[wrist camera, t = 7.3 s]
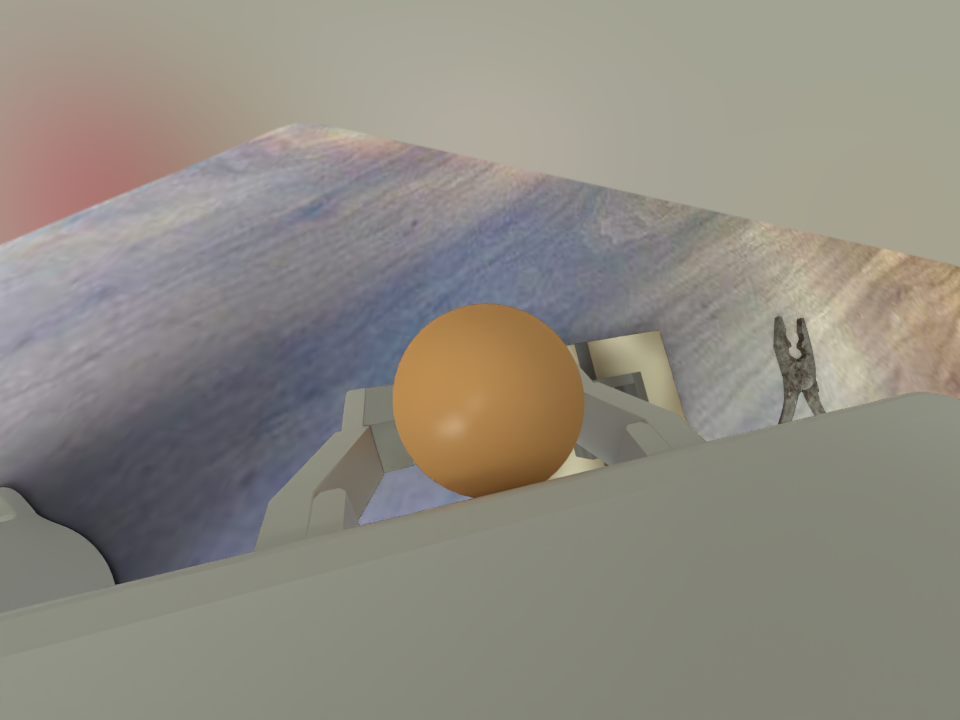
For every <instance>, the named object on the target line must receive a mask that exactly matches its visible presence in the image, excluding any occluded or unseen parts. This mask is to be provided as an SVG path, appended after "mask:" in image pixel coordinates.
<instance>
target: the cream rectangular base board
mask: <svg viewBox="0 0 960 720" xmlns="http://www.w3.org/2000/svg"><path fill="white" fill-rule="evenodd" d="M567 348H568V349H569V351H570V353H571V354H572V356H573V358H574V360H575V362H576V363H577V364H578V366H579V367H580V368H581V369H582V370H583V371H584V372H585V374H586V375H587V376H588V377H589V378H590V379H591V380H592V382H593V383H595V382H599V383H602V384H604V385H607V386H609V387H612V388H614V389H617V390H619V391H622V392H624V393H627V394H629V395H632V396H634V397H637V398H639V399H642V400H644V401H647V402H649V403H652V404H654V405H657V406H659V407H662V408H664V409H666V410H669V411H671V412H674V413H676V414H677V415H678V416H679V417H680V418H681V419H682V420H684V421H685V422H686V420H685V416H684V413H683V409H682V406H681V403H680V399H679V396H678V393H677V389H676V386H675V382H674V379H673V376H672V372H671V369H670V365H669V362H668V359H667V355H666V352H665V349H664V345H663V342H662V338H661V335H660V332H659V330H657V331H651V332H645V333H639V334H633V335H627V336H621V337H615V338H609V339H603V340H597V341H591V342H584V343H578V344H573V345H567ZM605 466H609V465H608V464H606V463H605V462H603V461H602V460H600V459H599V458H597V457H596V456H594V455H593V454H591V453H590V452H589V451H587V450H586V449H584V448H583V447H581V446H580V445H578V444H577V443H576V444H575V446H574V448H573V450H572V452H571V454H570V455H569V457H568V458H567V460H566V461H565V463H564V464H563V465H562V466H561V467H560V468H559V470H558V471H557V472H556V473H555V474H553V475H552V476H551V477H550V478H549V479H548V480H551V479H555V478H559V477H564V476H568V475H572V474H576V473H580V472H584V471H589V470H593V469H597V468H601V467H605ZM546 481H547V480H546Z"/></svg>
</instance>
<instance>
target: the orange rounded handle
mask: <svg viewBox="0 0 960 720" xmlns="http://www.w3.org/2000/svg"><path fill="white" fill-rule="evenodd" d="M584 404H585V403H584V390H583V384H582V379H581V376H580V373H579V369H578V367H577V364H576V362H575V360H574V358H573V356H572V354H571V353H570V351H569V349H568V348H567V346H566V345H565V343H564V342H563V341H562V340H561V338H560V337H559V336H558V335H557V334H556V333H555V332H554V331H553V330H552V329H551V328H550V327H549V326H547V325H546V324H545V323H544V322H542V321H541V320H539V319H538V318H536V317H534V316H533V315H531V314H529V313H526V312H524V311H522V310H519V309H516V308H513V307H510V306H505V305H499V304H474V305H469V306H464V307H460V308H457V309H454V310H451V311H449V312H447V313H445V314H443V315H441V316H439V317H438V318H436V319H435V320H433V321H432V322H430V323H429V324H428V325H427V326H426V327H425V328H423V329H422V330H421V331H420V332H419V333H418V334H417V336H416V337H415V338H414V339H413V340H412V342H411V343H410V345H409V346H408V348H407V349H406V351H405V353H404V355H403V357H402V359H401V361H400V363H399V366H398V369H397V372H396V375H395V381H394V386H393V413H394V418H395V423H396V428H397V430H398V433H399V436H400V438H401V441H402V443H403V445H404V447H405V448H406V450H407V452H408V454H409V455H410V456H411V458H412V459H413V461H414V462H415V463H416V465H417V466H418V467H419V468H420V469H421V470H422V471H423V472H424V473H425V474H426V475H428V476H429V477H430V478H431V479H433V480H434V481H435V482H436V483H438V484H440V485H442V486H443V487H445V488H447V489H449V490H451V491H453V492H456V493H458V494H461V495H465V496H469V497H473V498H477V497H481V496H485V495H489V494H493V493H498V492H502V491H506V490H510V489H514V488H518V487H522V486H526V485H531V484H535V483H539V482H543V481H546V480H548V479H549V478H550V477H551V476H552V475H553V474H555V473H556V472H557V471H558V470H559V468H560V467H561V466H562V465H563V464H564V463H565V461H566V460H567V458H568V457H569V455H570V454H571V452H572V450H573V448H574V446H575V444H576V442H577V440H578V437H579V434H580V431H581V428H582V422H583V417H584Z"/></svg>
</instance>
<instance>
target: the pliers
mask: <svg viewBox="0 0 960 720" xmlns="http://www.w3.org/2000/svg"><path fill="white" fill-rule="evenodd" d="M797 334H798V336H799V341H798V343H797V348H798V349H799V350H800V351H801V354H802V356H801V358H800V359H797V361H796V358H793V357H791V356H790V354H789V348H790V347H791V343H790V342H789V341H788V339H787V338H786V328H785V325H784V322H783V320H782V317H781V316H780V317H777V318H775V323H774V350H775V353H776V357H777V360H778V363H779V366H780V370H781V373H782V376H783V383H784V404H783V409H782V413H781V417H780V420H779V423H778V425H779V424H783V423H787V422H791V421H792V418H793V415H794V412H795V408H796V403H797V399H798V395H799V393H800V392H801V391H802V392H803V394H804V397H805V399H806V401H807V403H808V405H809V407H810V408H811V410H812V412H813V414H814V415H815V416H816V415H820V414H824V413H826V412H825V411H824V409H823V407H822V405H821V403H820V400H819V396H818V392H819V389H818V385H817V381H816V368H815V362H814V357H813V351H812V347H811V343H810V339H809V335H808V332H807V328H806V324H805V321H804V318H800V319H797Z"/></svg>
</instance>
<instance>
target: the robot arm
mask: <svg viewBox="0 0 960 720" xmlns="http://www.w3.org/2000/svg"><path fill="white" fill-rule="evenodd" d="M576 364H577V363H576ZM577 367H578V369H579V373H580V376H581V379H582V384H583V390H584V403H585V404H584V417H583V422H582V428H581V431H580V434H579V437H578V440H577V442H576V443H577V444H578V445H580V446H581V447H583V448H584V449H586V450H587V451H589V452H590V453H591V454H593V455H594V456H596V457H597V458H599V459H600V460H602V461H603V462H605V463H606V464H608V465H609V466H605V467H601V468H597V469H593V470H589V471H584V472H580V473H576V474H572V475H568V476H564V477H559V478H555V479H551V480H547V481H543V482H539V483H535V484H531V485H526V486H522V487H518V488H514V489H510V490H506V491H502V492H498V493H493V494H489V495H485V496H481V497H477V498H473V499H469V500H465V501H460V502H456V503H452V504H448V505H444V506H440V507H436V508H431V509H427V510H423V511H419V512H415V513H411V514H407V515H403V516H398V517H394V518H390V519H386V520H382V521H378V522H374V523H369V524H365V525H361V526H360V524H359V521H358V520H359V518H360V517H361V515H362V513H363V511H364V509H365V508H366V506H367V504H368V502H369V501H370V499H371V497H372V495H373V493H374V492H375V490H376V488H377V486H378V485H379V483H380V481H381V479H382V478H383V476H384V473H386V472H390V471H394V470H398V469H402V468H406V467H410V466H414V461H413V459H412V458H411V456H410V455H409V454H408V452H407V450H406V448H405V447H404V445H403V443H402V441H401V438H400V436H399V433H398V430H397V428H396V423H395V418H394V413H393V386H394V384H387V385H380V386H374V387H367V388H361V389H355V390H349V391H348V392H347V393H346V398H345V406H344V413H343V421H342V429H341V431H338V432H335V433H334V434H333V435H332V436H331V437H330V438H329V439H328V440H327V442H326V443H325V444H324V445H323V446H322V447H321V448H320V449H319V450H318V451H317V452H316V453H315V454H314V455H313V456H312V457H311V458H310V459H309V460H308V461H307V462H306V463H305V465H304V466H303V467H302V468H301V469H300V470H299V471H298V472H297V473H296V474H295V475H294V476H293V477H292V478H291V479H290V480H289V481H288V482H287V483H286V484H285V485H284V487H283V488H282V489H281V490H280V491H279V492H278V493H277V494H276V495H275V496H274V497H273V498H272V499H271V500H270V501H269V503H268V506H267V509H266V513H265V516H264V519H263V522H262V526H261V529H260V532H259V536H258V539H257V542H256V545H255V549H254V552H250V553H246V554H241V555H237V556H233V557H229V558H225V559H221V560H217V561H212V562H208V563H204V564H200V565H196V566H192V567H188V568H184V569H179V570H175V571H171V572H167V573H163V574H159V575H155V576H151V577H146V578H142V579H138V580H134V581H130V582H126V583H122V584H117V585H115V582H114V579H113V576H112V574H111V571H110V569H109V567H108V565H107V563H106V561H105V560H104V558H103V556H102V555H101V554H100V553H99V551H98V550H97V549H96V548H95V547H94V546H93V545H92V544H91V543H90V542H89V541H88V540H87V539H85V538H84V537H83V536H81V535H80V534H78V533H76V532H75V531H73V530H71V529H69V528H67V527H64V526H62V525H59V524H57V523H54V522H51V521H49V520H47V519H45V518H42V517H41V516H39V515H38V514H36V512H35V511H34V510H33V508H32V507H31V506H30V505H29V504H28V503H27V501H26V500H25V499H24V498H23V497H22V496H21V495H20V494H19V493H17V492H16V491H15V490H13V489H10V488H7V487H1V488H0V720H960V399H957V398H953V397H949V396H944V395H939V394H934V393H929V392H913V393H907V394H902V395H898V396H894V397H890V398H886V399H882V400H878V401H874V402H870V403H866V404H861V405H857V406H853V407H849V408H845V409H841V410H837V411H832V412H828V413H824V414H820V415H816V416H812V417H808V418H803V419H799V420H795V421H791V422H787V423H783V424H779V425H775V426H770V427H766V428H762V429H758V430H754V431H750V432H746V433H741V434H737V435H733V436H729V437H725V438H721V439H717V440H713V441H708V442H706V441H705V440H704V439H703V438H701V437H700V436H699V435H698V434H697V433H696V432H695V431H694V430H693V429H692V428H691V427H690V426H689V425H688V424H687V423H686V422H685V421H684V420H682V419H681V418H680V417H679V416H678V415H677V414H676V413H674V412H671V411H669V410H666V409H664V408H662V407H659V406H657V405H654V404H652V403H649V402H647V401H644V400H642V399H639V398H637V397H634V396H632V395H629V394H627V393H624V392H622V391H619V390H617V389H614V388H612V387H609V386H607V385H604V384H602V383H599V382H595V383H593V382H592V380H591V379H590V378H589V377H588V376H587V375H586V374H585V372H584V371H583V370H582V369H581V368H580V367H579V366H578V364H577Z"/></svg>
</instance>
